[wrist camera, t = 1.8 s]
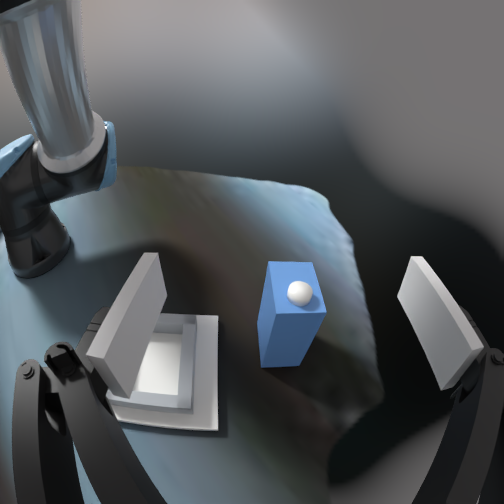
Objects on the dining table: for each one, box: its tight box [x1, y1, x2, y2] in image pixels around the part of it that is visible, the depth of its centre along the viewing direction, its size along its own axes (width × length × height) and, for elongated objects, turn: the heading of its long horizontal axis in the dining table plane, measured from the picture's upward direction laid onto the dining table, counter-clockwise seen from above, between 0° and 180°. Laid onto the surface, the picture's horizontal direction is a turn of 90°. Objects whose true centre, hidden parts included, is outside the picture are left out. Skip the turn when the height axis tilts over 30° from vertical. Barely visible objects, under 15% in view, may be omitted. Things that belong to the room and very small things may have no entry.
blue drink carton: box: [257, 261, 327, 368], centre depth 32 cm, size 7×5×13 cm
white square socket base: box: [106, 313, 218, 431], centre depth 30 cm, size 16×16×4 cm
